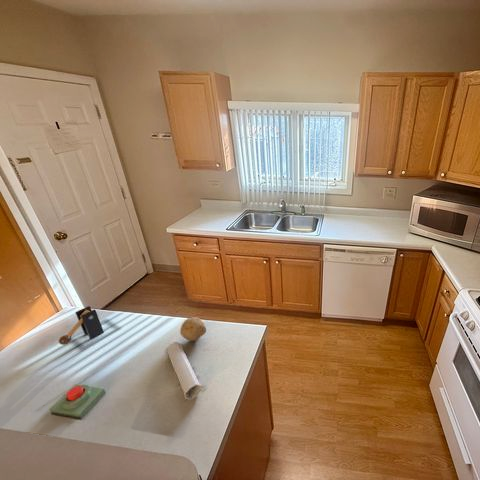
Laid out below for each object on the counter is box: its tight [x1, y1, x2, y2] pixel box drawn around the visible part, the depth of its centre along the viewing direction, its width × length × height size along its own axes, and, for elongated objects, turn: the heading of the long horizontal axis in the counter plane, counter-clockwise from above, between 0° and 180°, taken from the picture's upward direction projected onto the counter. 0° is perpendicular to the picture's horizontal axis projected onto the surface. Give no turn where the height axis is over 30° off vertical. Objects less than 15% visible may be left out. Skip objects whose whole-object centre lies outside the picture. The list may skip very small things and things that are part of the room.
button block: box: [48, 383, 107, 420], centre depth 78 cm, size 10×8×4 cm
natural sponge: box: [179, 316, 207, 342], centre depth 103 cm, size 9×9×10 cm
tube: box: [166, 341, 203, 401], centre depth 90 cm, size 5×5×25 cm
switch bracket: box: [75, 305, 105, 340], centre depth 100 cm, size 12×10×13 cm
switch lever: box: [58, 310, 90, 346], centre depth 96 cm, size 13×3×3 cm
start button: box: [65, 386, 84, 401], centre depth 77 cm, size 4×4×2 cm
